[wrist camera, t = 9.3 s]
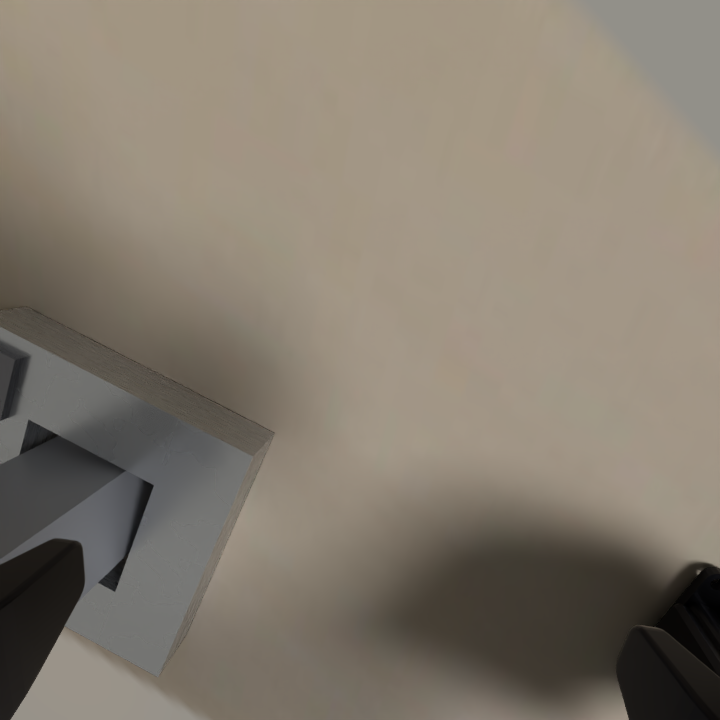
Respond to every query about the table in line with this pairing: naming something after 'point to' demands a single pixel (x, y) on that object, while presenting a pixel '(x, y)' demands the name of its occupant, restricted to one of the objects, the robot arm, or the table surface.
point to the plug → (70, 505)
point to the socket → (143, 459)
